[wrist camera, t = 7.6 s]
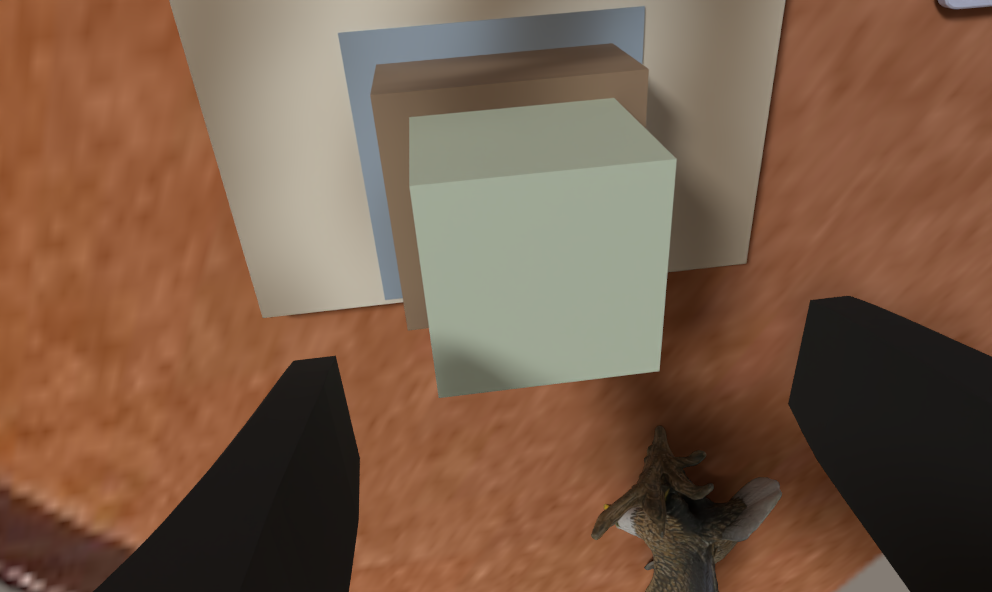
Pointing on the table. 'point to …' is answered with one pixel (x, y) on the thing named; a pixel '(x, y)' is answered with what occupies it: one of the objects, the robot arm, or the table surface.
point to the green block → (541, 243)
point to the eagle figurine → (685, 519)
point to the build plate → (436, 35)
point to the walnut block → (478, 89)
